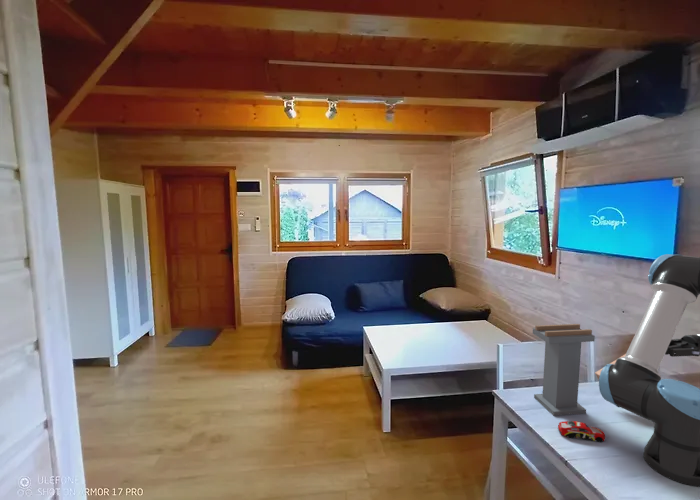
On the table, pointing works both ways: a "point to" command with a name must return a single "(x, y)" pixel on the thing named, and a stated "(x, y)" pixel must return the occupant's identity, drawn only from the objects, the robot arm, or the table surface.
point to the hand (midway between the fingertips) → (639, 348)
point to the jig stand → (562, 367)
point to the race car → (581, 431)
